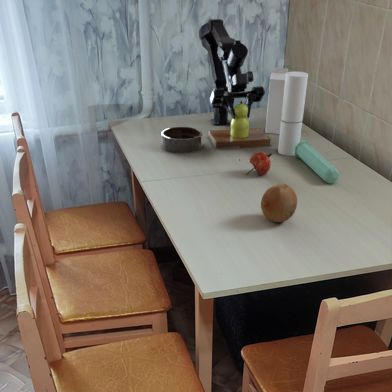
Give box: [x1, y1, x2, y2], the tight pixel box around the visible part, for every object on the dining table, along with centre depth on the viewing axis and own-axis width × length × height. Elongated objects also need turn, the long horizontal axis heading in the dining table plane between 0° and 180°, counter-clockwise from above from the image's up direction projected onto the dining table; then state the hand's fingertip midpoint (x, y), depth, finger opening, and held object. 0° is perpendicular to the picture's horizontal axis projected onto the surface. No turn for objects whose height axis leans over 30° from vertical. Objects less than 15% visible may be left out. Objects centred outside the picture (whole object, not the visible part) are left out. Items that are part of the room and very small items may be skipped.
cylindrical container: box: [277, 71, 309, 157], centre depth 182 cm, size 7×7×25 cm
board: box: [207, 127, 272, 149], centre depth 198 cm, size 13×20×2 cm, turn 101°
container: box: [294, 140, 340, 184], centre depth 175 cm, size 6×6×25 cm
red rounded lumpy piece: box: [245, 151, 273, 176], centre depth 172 cm, size 7×7×10 cm
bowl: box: [160, 126, 203, 154], centre depth 192 cm, size 14×14×5 cm
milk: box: [264, 67, 289, 135], centre depth 201 cm, size 6×6×22 cm
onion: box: [260, 183, 298, 223], centre depth 145 cm, size 10×10×10 cm
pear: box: [230, 100, 250, 138], centre depth 193 cm, size 7×7×12 cm
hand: (241, 118), depth 191 cm, fingers closed on pear, 5 cm apart
